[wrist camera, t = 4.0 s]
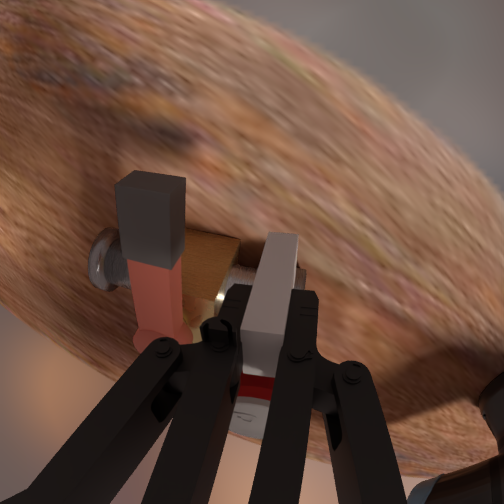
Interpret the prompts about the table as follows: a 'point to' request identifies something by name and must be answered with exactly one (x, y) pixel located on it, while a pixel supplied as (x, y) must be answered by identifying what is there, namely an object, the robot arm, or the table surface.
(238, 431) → the canned food
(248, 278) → the valve pipe
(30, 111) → the table surface
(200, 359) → the robot arm
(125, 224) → the lever
